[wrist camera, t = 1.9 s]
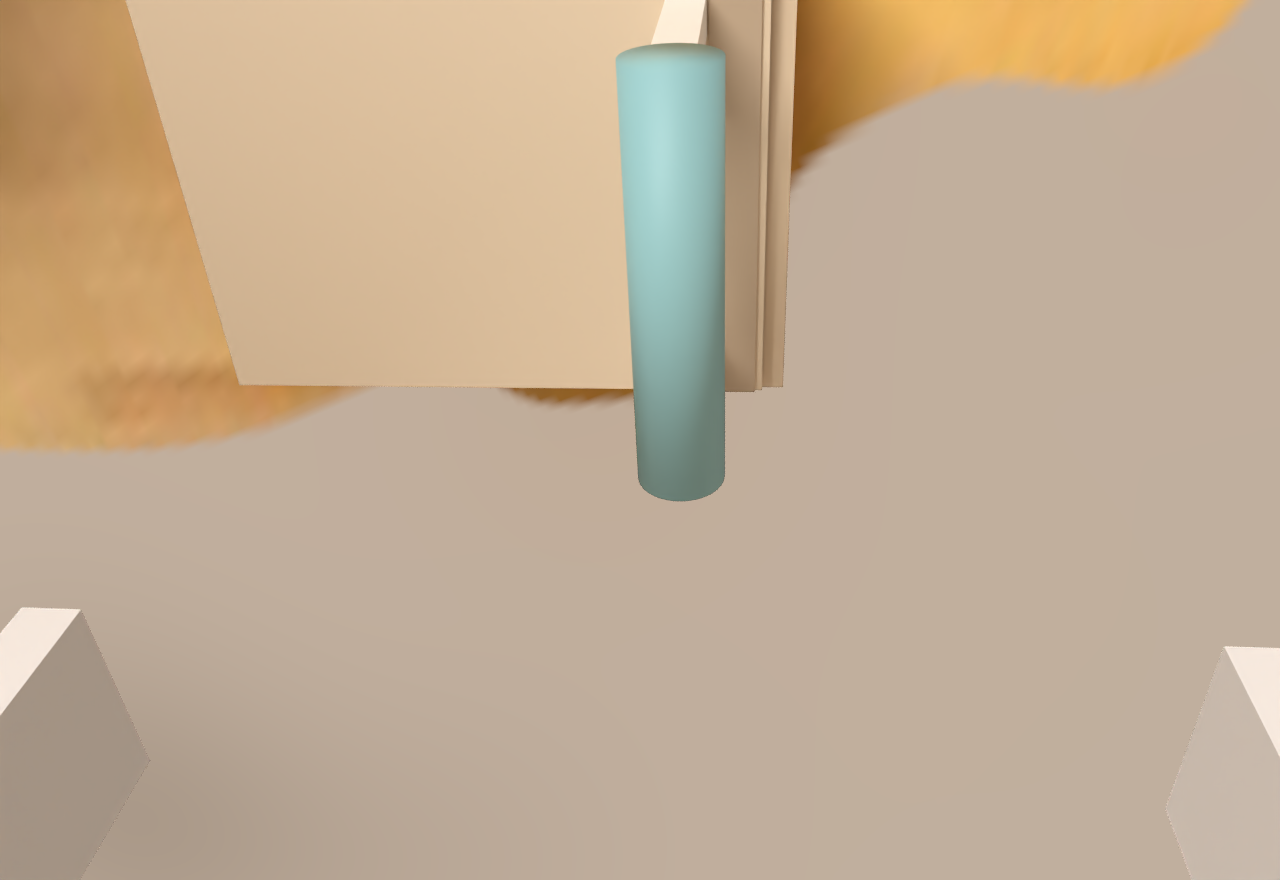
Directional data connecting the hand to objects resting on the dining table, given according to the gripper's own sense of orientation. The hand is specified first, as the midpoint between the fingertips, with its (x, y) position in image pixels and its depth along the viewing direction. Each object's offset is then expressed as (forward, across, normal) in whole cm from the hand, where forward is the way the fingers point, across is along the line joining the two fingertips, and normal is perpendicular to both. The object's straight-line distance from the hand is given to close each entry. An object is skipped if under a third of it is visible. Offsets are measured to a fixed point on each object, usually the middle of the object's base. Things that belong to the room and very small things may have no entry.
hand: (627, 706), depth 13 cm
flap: (+17, -6, 0) cm, 18 cm away
